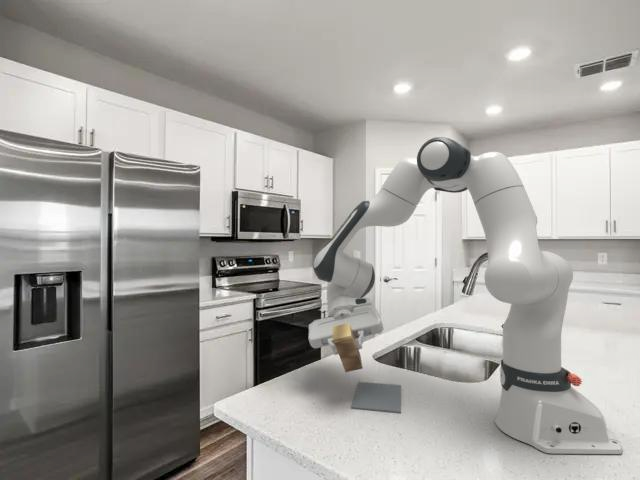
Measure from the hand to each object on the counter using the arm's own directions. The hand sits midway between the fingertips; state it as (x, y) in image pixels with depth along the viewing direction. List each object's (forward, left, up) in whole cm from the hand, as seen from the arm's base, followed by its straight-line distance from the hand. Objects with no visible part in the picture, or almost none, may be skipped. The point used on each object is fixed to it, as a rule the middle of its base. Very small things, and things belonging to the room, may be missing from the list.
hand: (347, 350), depth 91 cm
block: (-1, -4, -5) cm, 6 cm away
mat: (-7, -6, -14) cm, 17 cm away
